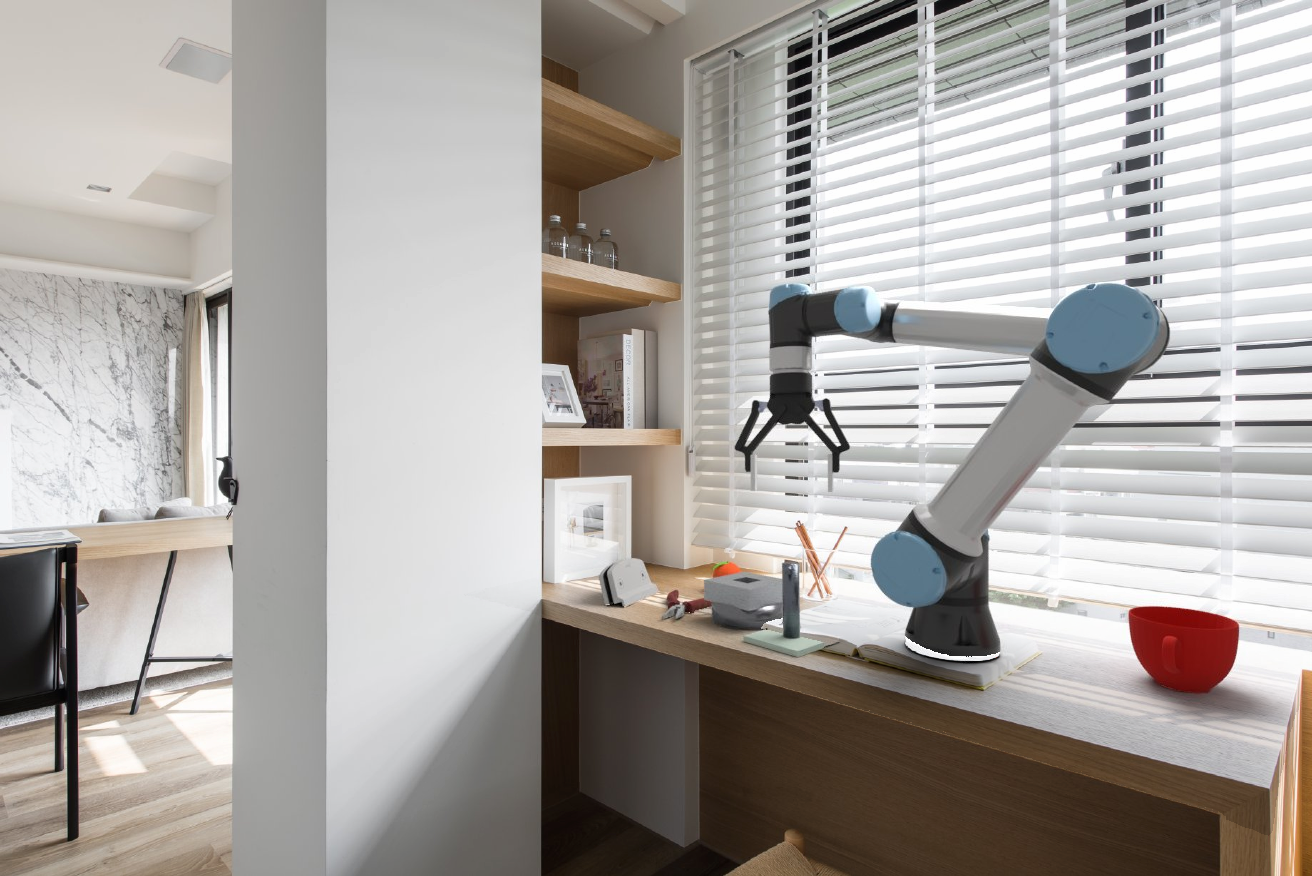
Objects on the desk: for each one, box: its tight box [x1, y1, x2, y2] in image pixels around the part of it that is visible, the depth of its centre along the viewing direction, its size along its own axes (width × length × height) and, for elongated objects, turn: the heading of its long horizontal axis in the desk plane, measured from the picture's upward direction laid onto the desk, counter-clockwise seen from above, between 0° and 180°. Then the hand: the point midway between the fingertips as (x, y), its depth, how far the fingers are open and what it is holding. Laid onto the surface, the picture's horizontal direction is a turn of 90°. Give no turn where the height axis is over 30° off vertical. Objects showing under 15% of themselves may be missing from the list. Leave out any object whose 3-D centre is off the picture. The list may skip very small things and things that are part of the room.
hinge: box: [598, 557, 659, 607], centre depth 159 cm, size 17×5×10 cm, turn 153°
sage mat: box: [743, 629, 825, 658], centre depth 125 cm, size 12×12×1 cm
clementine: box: [710, 561, 742, 578], centre depth 164 cm, size 8×7×7 cm
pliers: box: [661, 589, 712, 620], centre depth 148 cm, size 12×20×3 cm, turn 161°
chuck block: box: [703, 571, 783, 631], centre depth 139 cm, size 14×14×8 cm
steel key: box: [781, 561, 801, 639], centre depth 125 cm, size 6×3×13 cm, turn 161°
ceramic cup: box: [1127, 605, 1240, 694], centre depth 101 cm, size 13×17×10 cm
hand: (791, 491), depth 126 cm, fingers open, 13 cm apart
